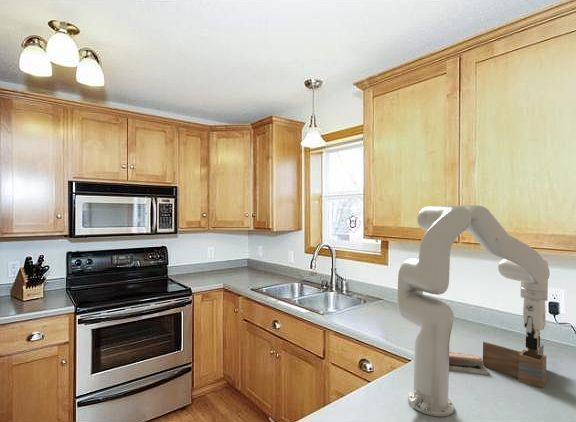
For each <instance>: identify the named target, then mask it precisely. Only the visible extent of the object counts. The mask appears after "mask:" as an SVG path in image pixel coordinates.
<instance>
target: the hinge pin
mask: <svg viewBox="0 0 576 422" xmlns="http://www.w3.org/2000/svg"><path fill="white" fill-rule="evenodd" d="M525 325H527V322H526V324H525ZM532 329H535V327H533V326H532ZM536 330H537V337H536V338H538V336H540V335H539V331H538V329H536ZM543 330H545V327H544V325H543V329H542V330H541V331H543ZM532 331H533V330H532ZM533 332H534V331H533ZM526 350H527V351H528V352H530V353H535V354H537V353H538V344H537V350H533V349H529V348H526Z"/></svg>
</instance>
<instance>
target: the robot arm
mask: <svg viewBox="0 0 576 422" xmlns="http://www.w3.org/2000/svg"><path fill="white" fill-rule="evenodd" d="M416 217H417V218H416V219H417V224H418V226H419V227H420V229H422V230H423V231H425V233H424V234H423V236H422V238H421V240H420V244H419V253H418V258H416V257H414V258H408V259H406V260H405V261H404V262H403V263H402V264H401V266H400V268H399V270H398V275H397V298H396V299H397V310H398V313H399V315H400V316H401V317H402V318H403V319H404V320H405V321H407V322H410V323H412V324H414V325H416V326H417V327H420V330H419V331H418V332H419V333H418V334H417V336H416V337H415V340H414V354H413V355H414V360H413V361H414V363H413V365H414V366H413V390H412V391H409V393H408V395H407V396H408V397H407V400H408V405H409V407H410V408H412V409H415V410H417V411H418V412H420V413H423V414H425V415H427V416H434V417H441V418H442V417H448V416H450V415H452V414H453V413H454V411H455V406H454V403H453V401H452V400H451V399H450V398H449V379H450V377H449V376H450V374H449V372H450V370H449V352H450V341H451V334H452V330H453V326H454V320H455V314H454V311H453V309H452V308H451V306H450V305H449V304H447V303H446V302H444V301H443V300H441V299H438V298H435V297H432V296H430V295H442V294H445V293H446V292H447V291H448V289H449V286H450V285H449V284H450V267H451V266H450V265H451V249H452V246H453V244H454V242H455V240H456V239H457V238H458V237H459V236H461V234H463V233H464V232H468V233H470V234H471V236H472V237H473V238H474V239H475V240H476V242H477V243H478V244H479V245H480V246H481V248H482V249H483V250H484V251H485V252H487V253H489V254H491V255H494V256H495V257H499V258H502V260H500V261H499V263H498V266H497V270H498V272H499V274H500V275H501V276H502V277H504V278H506V279H507V280H512V281H518V282H520V298H521V299H523V306H522V307H523V308H522V326H523V328H525V331H526V332H525V348H526V349H527V348H529V349H533V350H537V344H538V347H540V344H541V335H540V334H541V331H543V330H544V329H543V325H544V328H545V327H546V324H547V323H546V322H547V320H546V317H547V316H546V302H547V301H548V300H549V299H548V297H549V296H548V295H549V294H548V293H549V292H548V289H549V285H548V284H549V279H550V273H551V272H550V268H549V263H548V261H547V260H546V259H544V258H543V257H542V256H541V255H540V253H539V252H538V251H537V250H536V249H534V248H533V247H532V246H530V245H528V244H527V243H524V242H522V241H521V240H519V239H518V238H515V237H513V236H512V235H510V234H509V233H508V232H507V231H506V230H505V228H504V227H503V226H502V225H501V223H500V222H499V221H498V219H497V218H496V217H495V216H494V215H493V213H492V212H491V211H490V210H489V209H488V208H487V207H485V206H483V205H475V204H474V205H473V204H472V205H471V204H470V205H429V206H425V207H423V208H422V209H421V210H419V212H418V214H417V216H416ZM424 293H426V294H427V293H428V294H430V295H429V296H428V295H425V294H424ZM526 322H527V325H525V324H526ZM532 326H533V327H535V329H532ZM536 329H538V331H539V336H538V338H536V337H537V330H536ZM542 329H543V330H542ZM532 330H533V331H534V332H533V331H532Z"/></svg>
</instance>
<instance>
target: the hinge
mask: <svg viewBox="0 0 576 422" xmlns="http://www.w3.org/2000/svg"><path fill="white" fill-rule="evenodd" d="M547 358H548V357H547V355H545V354H544V343H540V347H538V353H537V354H535V353H530V352H528V351H527V349H523V350H521V351H520V350H516V349H513V348H508V347H505V346H501V345H498V344H494V343H490V342H487V341H483V342H482V360H483V365H484V367H485V368H488V369H491V370H495V371H498V372H500V373H504V374H507V375H510V376H512V377H516V378H517V380H518V382H520V383H521V382H522V383H524V384H528V385H529V386H533V387H537V388H539V389H543V388H544V386H545V384H546V383H547Z"/></svg>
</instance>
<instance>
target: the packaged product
mask: <svg viewBox="0 0 576 422" xmlns="http://www.w3.org/2000/svg"><path fill="white" fill-rule="evenodd" d="M449 371H453V372H463V373H468V374H476V375H477V374H478V375H488V376H489V373H490V371H489V370H488V369H487V367H484V365H483V358H482V357H481V356H479V355H477V354H472V353H471V354H470V353H465V352H464V353H462V352H455V351H449Z"/></svg>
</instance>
